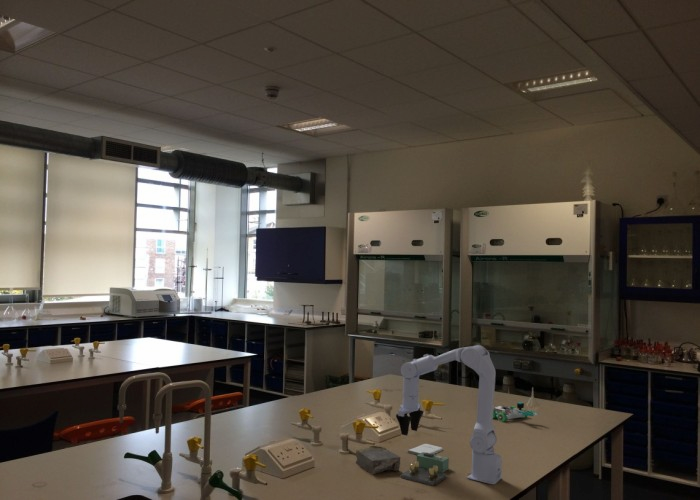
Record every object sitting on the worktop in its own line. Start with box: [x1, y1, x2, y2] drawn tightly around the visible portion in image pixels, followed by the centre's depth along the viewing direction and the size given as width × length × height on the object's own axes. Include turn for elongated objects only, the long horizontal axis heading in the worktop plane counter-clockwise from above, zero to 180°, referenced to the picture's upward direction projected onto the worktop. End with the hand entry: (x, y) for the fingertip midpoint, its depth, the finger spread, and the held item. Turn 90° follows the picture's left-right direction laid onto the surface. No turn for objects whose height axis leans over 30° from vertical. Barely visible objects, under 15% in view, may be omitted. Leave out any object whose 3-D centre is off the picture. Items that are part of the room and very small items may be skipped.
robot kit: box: [493, 401, 539, 423], centre depth 273 cm, size 19×25×9 cm
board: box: [416, 452, 450, 474], centre depth 201 cm, size 10×5×5 cm, turn 57°
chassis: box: [400, 460, 447, 487], centre depth 191 cm, size 12×10×4 cm
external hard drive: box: [407, 443, 444, 456], centre depth 219 cm, size 2×8×12 cm
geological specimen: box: [355, 445, 401, 476], centre depth 200 cm, size 11×6×15 cm
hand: (409, 432), depth 208 cm, fingers open, 7 cm apart
